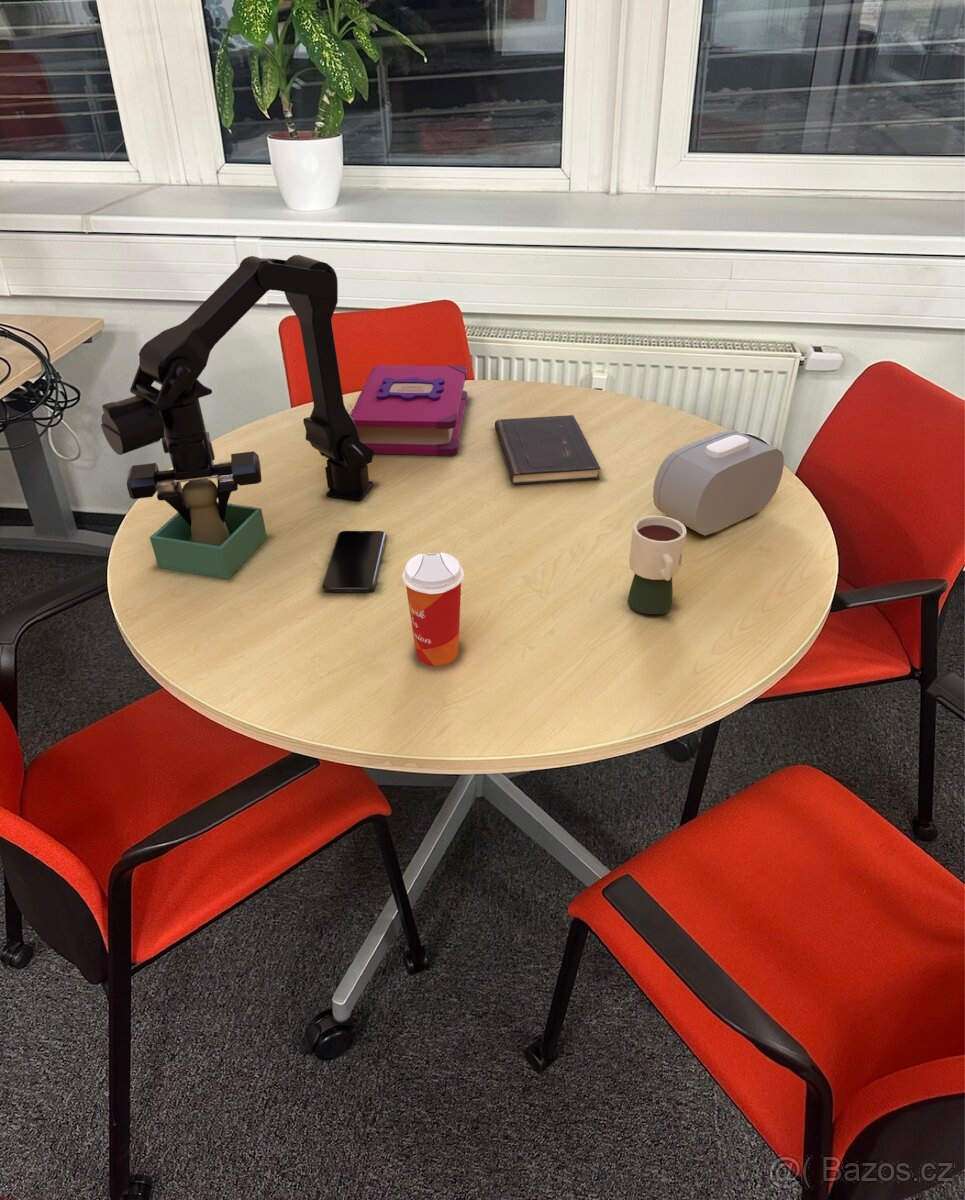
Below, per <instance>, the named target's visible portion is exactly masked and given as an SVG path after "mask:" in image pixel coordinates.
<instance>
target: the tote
mask: <svg viewBox="0 0 965 1200" xmlns="http://www.w3.org/2000/svg"><path fill="white" fill-rule="evenodd" d="M217 503H218V501H217ZM188 506H189V505H188ZM218 506H219V503H218ZM225 523H226V526H227V529H228V531H229V534H230V537H229V538H228V539H227V540H226V541H225V542H224V543H223V544H222V545H221V546H214V545H208V544H202V543H196V542H192V534H191V527H190V525H189V524H188V523H187V522H186V521H185V520H184V519H183V517H182V516H181V515H180V514H179V513H178V512H177V513H175V514H174V515H173V516H172V517H171V518H170V519H169V520H167V521H166V522H165V523H164V524H163V525H162V526H160V528H159V529H157V530H156V531H155V532H154V533H153V534H151V535H150V537H149V540H150V545H151V547H152V550H153V553H154V557H155V561H156V565H157V567H158V568H159V569H160V568H161V569H166V570H172V571H178V572H183V573H189V574H195V575H201V576H202V575H203V576H207V577H213V578H218V579H224V580H230V579H231V577H233V575H235V573H236V572H237V571H238V570H239V568H241V567H242V566H243V565H244V564H245V562H246V561H247V560H248V559H249V558H250V557H251V556H252V555H253V554H254V553H255V552H256V550H257V549H258V548H260V546H261V545H262V543H264V542H265V540H266V539H267V538H268V536H267V529H266V525H265V521H264V514H263V510H262V508H261V507H254V506H247V505H241V504H235V503H227V507H226V514H225Z"/></svg>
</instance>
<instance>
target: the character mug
mask: <svg viewBox="0 0 965 1200" xmlns="http://www.w3.org/2000/svg"><path fill="white" fill-rule="evenodd" d="M686 538H687V528H686V525H684V524H682V523H681V522H679V521H677V520H675V519H673V518H671V517H670V516H664V515H647V516H643V517H641V518H639V519H638V520H636V521H635V522H634V524H633V526H632V533H631V541H630V547H629V548H630V549H629V558H628V560H629V561H628V563H629V569H630V570H631V571H632V572H633V573H634V575H633V578H632V581H631V585H630V589H629V593H628V597H627V604H628V606H629V608H630V609H632V610H634V611H635V612H638V613H641V614H646V615H664V614H666V613H668V612H669V611H670V610H671V609H672V605H673V576H675V575H677V574H678V573H679V572H680V571H681V569H682V566H683V552H684V550H685V547H686Z"/></svg>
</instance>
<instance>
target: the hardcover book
mask: <svg viewBox="0 0 965 1200" xmlns="http://www.w3.org/2000/svg"><path fill="white" fill-rule="evenodd" d="M494 429H495V433H496V435H497V440H498V442H499V445H500V449H501V452H502V455H503V458H504V462H505V465H506V468H507V472H508V474H509V478H510V481H511V483H512V485H514V486H521V485H522V486H523V485H535V484H537V485H538V484H549V483H564V482H565V483H566V482H580V481H594V480H595V481H596V480H600V479H601V478H600V476H599V472H598V471H601V467H600V464H599V462H598V460H597V458H596V457H595V454H594V453H593V451H592V449H591V447H590V445H589V443H588V441H587V439H586V437H585V435H584V433H583V431H582V429H581V427H580V425H579V423H578V420H577V419H576V417H575V415H574V414H569V415H552V416H535V417H519V418H518V417H517V418H501V419H496V420H495V422H494Z"/></svg>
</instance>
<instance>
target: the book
mask: <svg viewBox="0 0 965 1200" xmlns="http://www.w3.org/2000/svg"><path fill="white" fill-rule="evenodd" d="M467 377H468V367H467V366H464V365H395V364H394V365H391V364H383V365H382V364H377V365H375V366H373V367H372V369H371V370H370V372H369V374H368V375H367V378H366V381H365V382H364V384H363V387H362V389H361V391H360V393H359V395H358V398H357V400H356V401H355V404H354V405H353V408H352V411H351V412H350V416H351V417H352V419H353V421H354V422H355V425H356V428H357V432H358V435H359V439H360V442H362V443H363V444H365V445H366V446H368V447H369V448H371V449H372V450H374V455H414V456H415V455H416V456H417V455H419V456H420V455H421V456H423V455H424V456H437V457H452V456H456V455H458V452H459V447H460V446H459V441H460V436H461V430H462V426H463V420H464V416H465V410H466V406H467V404H468V392H467V391H465V390H464V388H465V387H464V386H465V383H466V381H467Z"/></svg>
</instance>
